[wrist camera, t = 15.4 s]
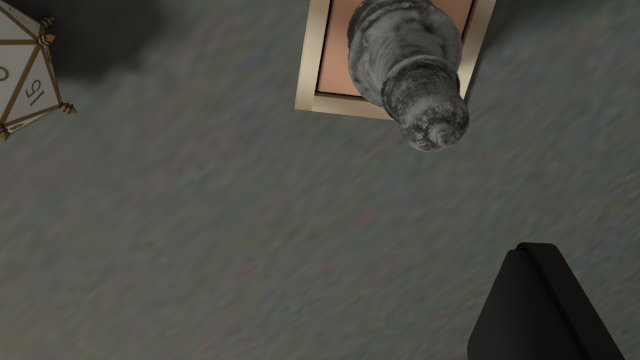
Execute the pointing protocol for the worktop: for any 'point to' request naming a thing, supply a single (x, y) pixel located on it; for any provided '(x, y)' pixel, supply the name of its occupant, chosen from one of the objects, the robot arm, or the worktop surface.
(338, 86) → the game track
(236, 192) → the worktop surface
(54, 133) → the worktop surface
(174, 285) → the worktop surface
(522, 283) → the robot arm
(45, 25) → the game die
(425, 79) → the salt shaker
